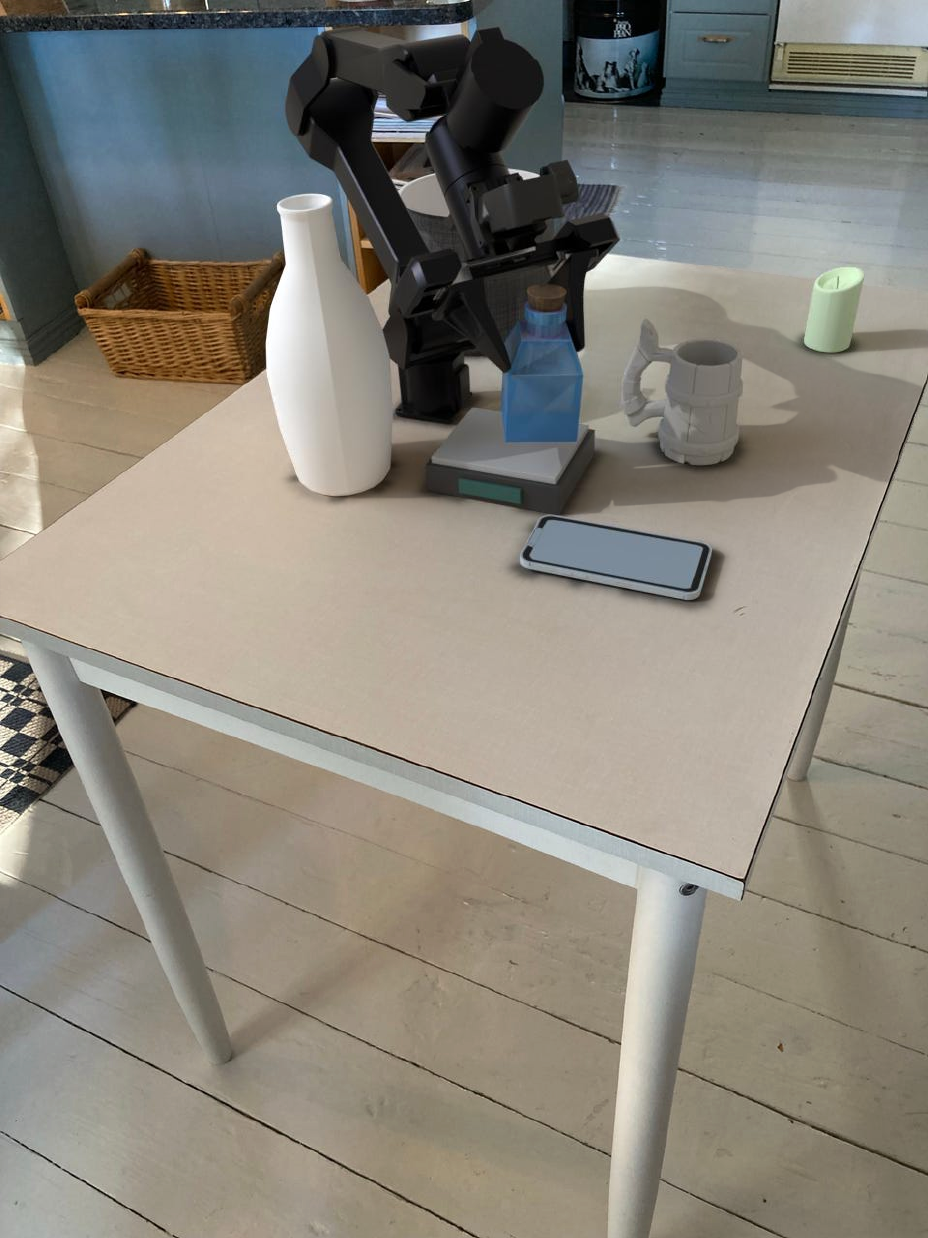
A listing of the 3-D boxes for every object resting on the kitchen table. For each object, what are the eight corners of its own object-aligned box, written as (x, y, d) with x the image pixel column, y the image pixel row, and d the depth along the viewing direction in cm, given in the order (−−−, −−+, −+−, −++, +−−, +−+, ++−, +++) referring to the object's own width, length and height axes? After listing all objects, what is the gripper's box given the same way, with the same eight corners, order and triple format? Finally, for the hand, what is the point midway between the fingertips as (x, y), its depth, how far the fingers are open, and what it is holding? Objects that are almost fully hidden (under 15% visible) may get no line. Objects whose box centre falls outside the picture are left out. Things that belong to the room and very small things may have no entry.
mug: (726, 474, 93) (742, 353, 85) (605, 451, 97) (611, 334, 90) (745, 435, 98) (762, 319, 91) (630, 415, 102) (637, 302, 95)
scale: (425, 493, 93) (422, 460, 91) (470, 435, 101) (469, 403, 99) (557, 517, 89) (558, 484, 87) (594, 454, 97) (595, 422, 95)
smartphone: (698, 596, 78) (516, 560, 82) (697, 605, 79) (516, 569, 83) (714, 543, 83) (542, 512, 88) (712, 552, 84) (542, 521, 88)
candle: (817, 355, 111) (830, 283, 106) (795, 337, 115) (807, 267, 109) (858, 349, 112) (873, 277, 106) (835, 331, 115) (849, 261, 110)
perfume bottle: (577, 441, 85) (589, 305, 78) (505, 442, 85) (510, 306, 78) (569, 407, 90) (580, 276, 83) (500, 407, 90) (505, 276, 82)
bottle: (421, 455, 98) (397, 186, 82) (366, 514, 91) (328, 230, 75) (324, 435, 102) (284, 176, 86) (264, 491, 95) (207, 217, 78)
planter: (518, 366, 112) (516, 224, 102) (381, 343, 119) (367, 207, 109) (574, 306, 125) (577, 174, 114) (447, 288, 131) (440, 162, 121)
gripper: (398, 148, 72) (475, 349, 71) (613, 106, 78) (686, 291, 77) (365, 227, 82) (433, 402, 82) (558, 185, 88) (621, 347, 88)
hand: (544, 360), depth 82 cm, fingers closed on perfume bottle, 7 cm apart
